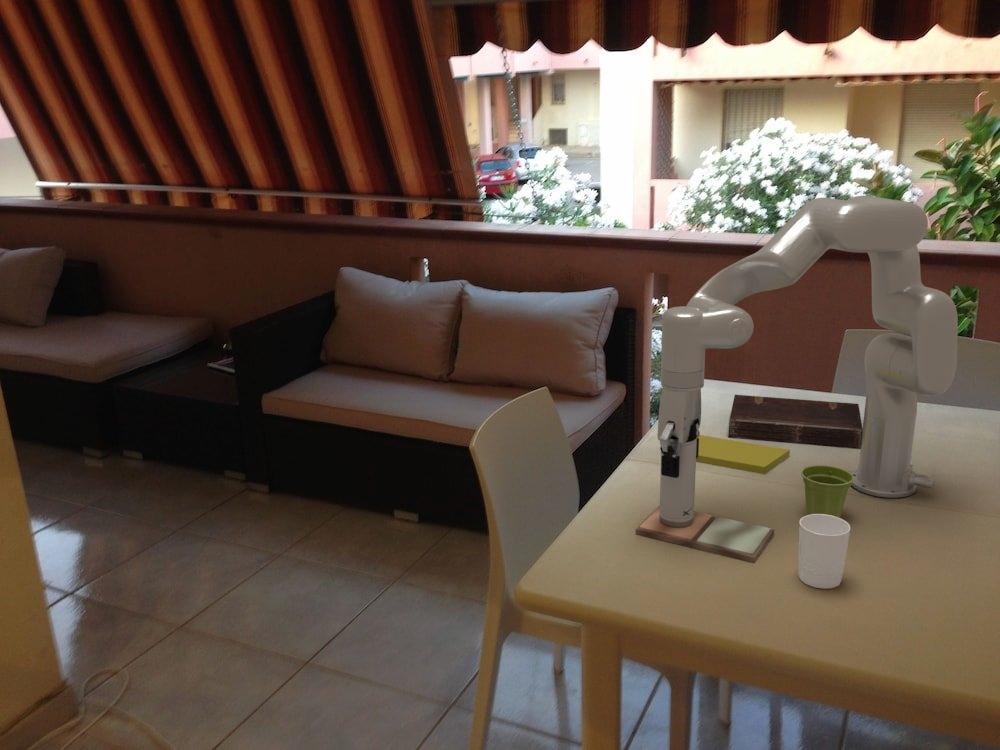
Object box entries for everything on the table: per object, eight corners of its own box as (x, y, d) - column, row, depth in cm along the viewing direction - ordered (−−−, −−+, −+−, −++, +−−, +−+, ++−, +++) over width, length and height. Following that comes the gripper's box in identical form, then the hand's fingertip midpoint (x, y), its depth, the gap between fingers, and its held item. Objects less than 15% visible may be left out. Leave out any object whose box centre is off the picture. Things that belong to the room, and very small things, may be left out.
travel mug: (695, 529, 169) (699, 426, 163) (658, 526, 171) (661, 424, 165) (695, 514, 175) (699, 414, 169) (660, 512, 176) (662, 412, 171)
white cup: (838, 595, 149) (844, 539, 146) (789, 583, 153) (793, 528, 150) (849, 574, 156) (855, 520, 153) (802, 563, 160) (806, 509, 157)
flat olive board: (666, 458, 206) (775, 478, 195) (666, 449, 206) (776, 469, 194) (684, 441, 216) (789, 459, 205) (684, 432, 216) (789, 449, 204)
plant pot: (812, 501, 183) (815, 460, 180) (858, 516, 176) (862, 473, 174) (788, 516, 177) (791, 474, 174) (835, 532, 170) (839, 489, 168)
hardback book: (728, 439, 217) (729, 419, 215) (733, 413, 234) (734, 394, 232) (860, 451, 208) (863, 430, 207) (856, 423, 225) (858, 403, 224)
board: (773, 534, 170) (774, 527, 169) (754, 562, 160) (754, 555, 160) (660, 509, 181) (660, 502, 180) (635, 534, 171) (635, 527, 171)
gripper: (680, 361, 173) (677, 447, 178) (643, 388, 159) (642, 480, 165) (719, 366, 170) (715, 453, 175) (685, 394, 156) (682, 488, 161)
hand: (680, 466), depth 170 cm, fingers open, 9 cm apart
